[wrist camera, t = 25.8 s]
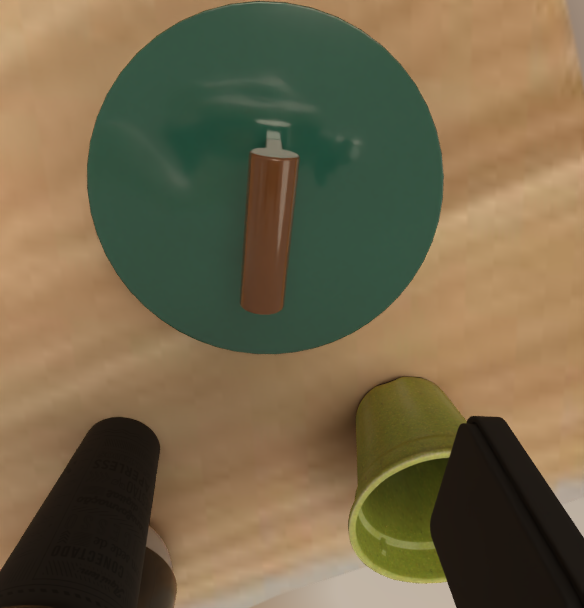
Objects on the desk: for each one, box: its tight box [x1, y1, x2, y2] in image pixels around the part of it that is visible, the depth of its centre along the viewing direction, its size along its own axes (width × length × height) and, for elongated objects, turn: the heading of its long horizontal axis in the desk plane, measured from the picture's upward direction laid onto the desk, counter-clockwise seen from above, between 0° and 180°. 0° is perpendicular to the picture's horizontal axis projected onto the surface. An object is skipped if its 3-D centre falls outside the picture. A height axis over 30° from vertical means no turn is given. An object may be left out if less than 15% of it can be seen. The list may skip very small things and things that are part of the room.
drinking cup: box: [0, 418, 160, 608], centre depth 25 cm, size 8×8×20 cm
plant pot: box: [348, 377, 467, 584], centre depth 29 cm, size 9×9×9 cm
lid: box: [87, 1, 444, 354], centre depth 21 cm, size 16×16×6 cm
